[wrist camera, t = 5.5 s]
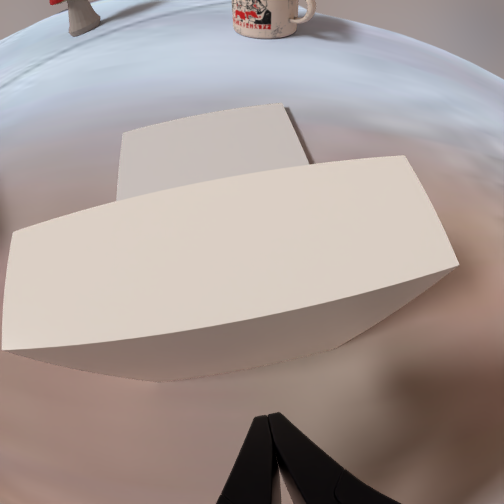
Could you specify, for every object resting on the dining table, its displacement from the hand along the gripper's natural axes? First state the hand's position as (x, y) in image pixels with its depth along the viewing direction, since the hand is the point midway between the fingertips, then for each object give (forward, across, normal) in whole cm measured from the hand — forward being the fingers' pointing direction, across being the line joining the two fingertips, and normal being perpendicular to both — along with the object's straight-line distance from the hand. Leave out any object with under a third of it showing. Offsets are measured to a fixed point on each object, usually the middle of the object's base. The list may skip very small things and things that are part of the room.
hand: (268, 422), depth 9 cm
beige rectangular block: (+8, -1, -2) cm, 8 cm away
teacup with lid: (+34, +10, +24) cm, 43 cm away
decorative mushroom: (+50, -21, +40) cm, 67 cm away
